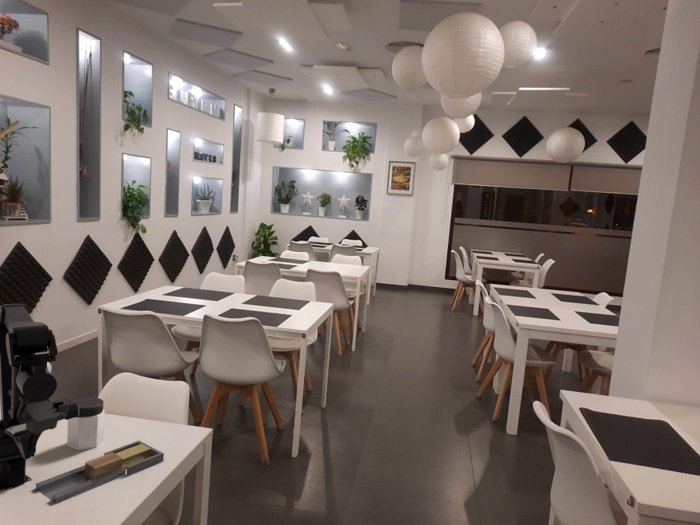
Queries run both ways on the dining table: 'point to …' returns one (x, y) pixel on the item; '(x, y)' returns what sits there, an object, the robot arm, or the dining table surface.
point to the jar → (87, 424)
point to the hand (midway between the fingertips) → (26, 458)
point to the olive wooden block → (127, 458)
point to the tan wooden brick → (102, 465)
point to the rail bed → (73, 483)
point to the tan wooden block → (141, 452)
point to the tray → (154, 459)
